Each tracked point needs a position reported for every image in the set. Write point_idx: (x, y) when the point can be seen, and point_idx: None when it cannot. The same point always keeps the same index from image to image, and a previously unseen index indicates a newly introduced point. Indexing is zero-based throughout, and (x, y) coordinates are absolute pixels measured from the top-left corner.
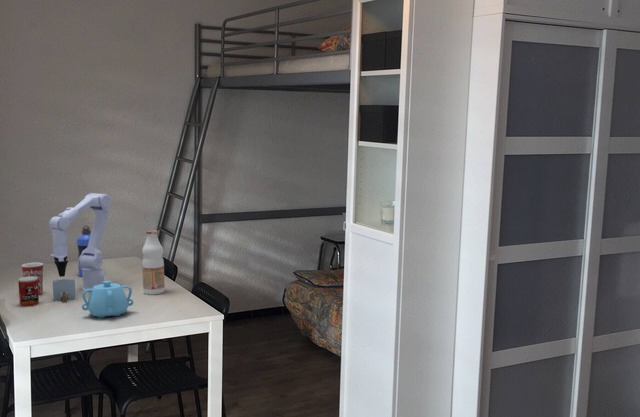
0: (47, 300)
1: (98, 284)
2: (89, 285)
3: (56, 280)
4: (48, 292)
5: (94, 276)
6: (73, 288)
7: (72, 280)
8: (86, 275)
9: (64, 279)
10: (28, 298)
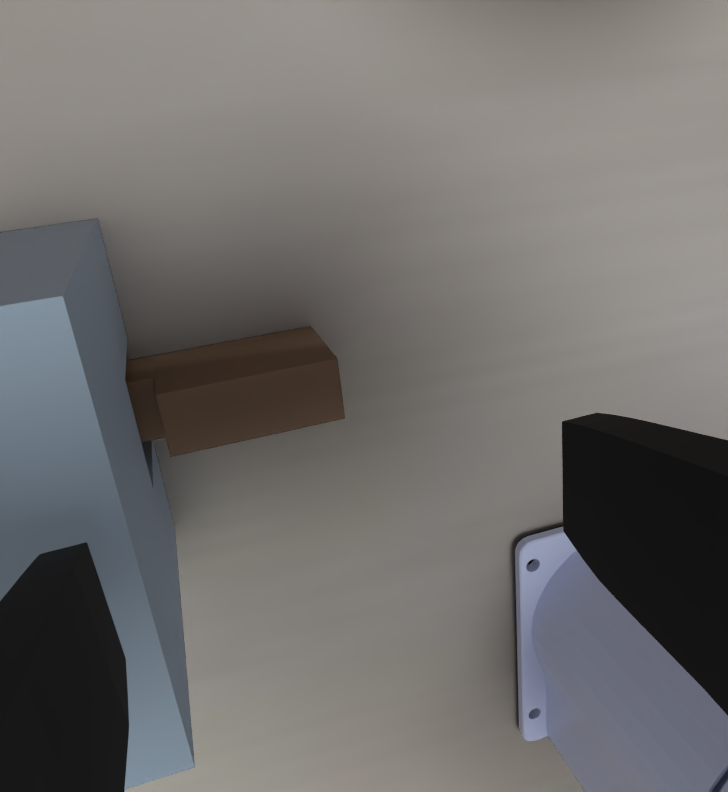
0: (33, 113)
1: (571, 723)
2: (559, 642)
3: (13, 419)
4: (608, 67)
5: (633, 789)
6: None
7: None
8: (666, 718)
9: (122, 592)
10: None
